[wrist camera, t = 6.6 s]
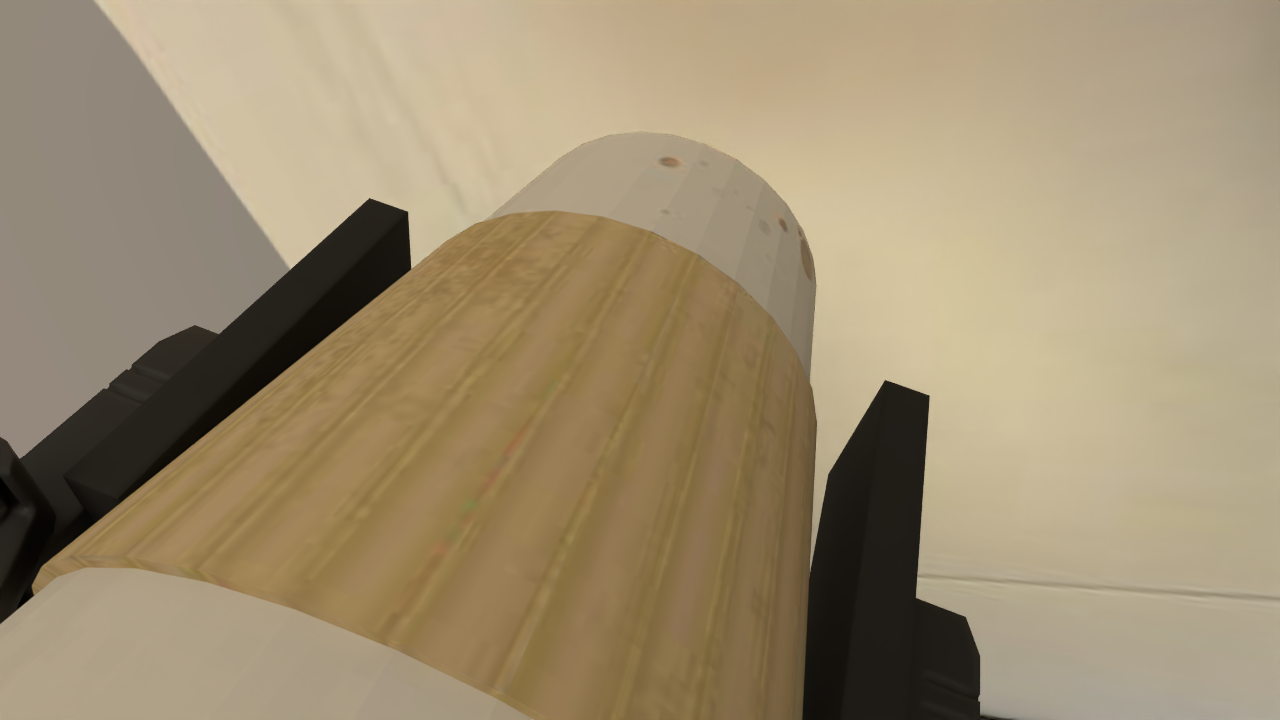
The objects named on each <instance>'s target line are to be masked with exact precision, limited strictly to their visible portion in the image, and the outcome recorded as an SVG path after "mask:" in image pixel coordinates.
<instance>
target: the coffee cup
mask: <svg viewBox="0 0 1280 720" xmlns="http://www.w3.org/2000/svg"><path fill="white" fill-rule="evenodd" d="M815 296H816V277H815V269H814V261H813V256H812V253H811V251H810V248H809V245H808V242H807V240H806V237H805V234H804V231H803V229H802V228H801V226H800V225H799V223H798V221H797V220H796V218H795V216H794V215H793V213H792V212H791V210H790V208H789V207H788V205H787V204H786V203H785V202H784V201H783V199H782V198H781V197H780V196H779V195H778V194H777V193H776V192H775V191H774V190H773V189H772V188H771V187H770V186H769V184H768V183H767V182H766V181H765V180H764V179H762V178H761V177H760V176H758V175H757V174H756V173H754V172H753V171H751V170H750V169H749V168H747V167H746V166H745V165H743V164H742V163H741V162H739V161H738V160H737V159H735V158H732V157H730V156H728V155H726V154H724V153H722V152H720V151H718V150H716V149H714V148H712V147H710V146H708V145H706V144H703V143H699V142H696V141H693V140H689V139H686V138H682V137H679V136H675V135H669V134H658V133H648V132H634V133H625V134H615V135H608V136H605V137H602V138H599V139H596V140H593V141H590V142H587V143H584V144H582V145H580V146H579V147H577V148H575V149H574V150H572V151H570V152H569V153H567V154H566V155H564V156H562V157H561V158H559V159H558V160H557V161H556V162H554V163H553V164H552V165H551V166H550V167H548V168H547V169H546V170H545V171H544V172H542V173H541V174H540V175H539V176H538V177H536V178H535V179H534V180H533V181H532V182H530V183H529V184H528V185H527V186H526V187H524V188H523V189H522V190H521V191H520V192H518V193H517V194H516V195H515V196H514V197H512V198H511V199H510V200H509V201H508V202H506V203H505V204H504V205H503V206H502V207H500V208H499V209H498V210H497V211H496V212H494V213H493V214H492V215H491V216H490V217H488V218H487V219H486V220H485V221H483V222H480V223H476V224H474V225H473V226H471V227H469V228H468V229H466V230H464V231H463V232H461V233H459V234H458V235H456V236H454V237H453V238H451V239H449V240H448V241H446V242H445V243H444V244H442V245H441V246H440V247H439V248H437V249H436V250H435V251H434V252H432V253H431V254H430V255H429V256H427V257H426V258H425V259H424V260H422V261H421V262H420V263H419V264H417V265H416V266H415V267H414V268H412V269H411V270H410V271H409V272H407V273H406V274H405V275H404V276H403V277H401V278H400V279H399V280H398V281H396V282H395V283H394V284H393V285H391V286H390V287H389V288H388V289H386V290H385V291H384V292H383V293H381V294H380V295H379V296H378V297H376V298H375V299H374V300H373V301H371V302H370V303H369V304H368V305H366V306H365V307H364V308H363V309H361V310H360V311H359V312H358V313H356V314H355V315H354V316H353V317H352V318H350V319H349V320H348V321H347V322H345V323H344V324H343V325H342V326H340V327H339V328H338V329H337V330H335V331H334V332H333V333H332V334H330V335H329V336H328V337H327V338H325V339H324V340H323V341H322V342H320V343H319V344H318V345H317V346H315V347H314V348H313V349H312V350H310V351H309V352H308V353H307V354H305V355H304V356H303V357H302V358H301V359H299V360H298V361H297V362H296V363H294V364H293V365H292V366H291V367H289V368H288V369H287V370H286V371H284V372H283V373H282V374H281V375H279V376H278V377H277V378H276V379H274V380H273V381H272V382H271V383H269V384H268V385H267V386H266V387H264V388H263V389H262V390H261V391H259V392H258V393H257V394H256V395H254V396H253V397H252V398H251V399H250V400H248V401H247V402H246V403H245V404H243V405H242V406H241V407H240V408H238V409H237V410H236V411H235V412H233V413H232V414H231V415H230V416H228V417H227V418H226V419H225V420H223V421H222V422H221V423H220V424H218V425H217V426H216V427H215V428H213V429H212V430H211V431H210V432H208V433H207V434H206V435H205V436H204V437H202V438H201V439H200V440H199V441H197V442H196V443H195V444H194V445H192V446H191V447H190V448H189V449H187V450H186V451H185V452H184V453H182V454H181V455H180V456H179V457H177V458H176V459H175V460H174V461H172V462H171V463H170V464H169V465H167V466H166V467H165V468H164V469H162V470H161V471H160V472H159V473H157V474H156V475H155V476H154V477H153V478H151V479H150V480H149V481H148V482H146V483H145V484H144V485H143V486H141V487H140V488H139V489H138V490H136V491H135V492H134V493H133V494H131V495H130V496H129V497H128V498H126V499H125V500H124V501H123V502H121V503H120V504H119V505H118V506H116V507H115V508H114V509H113V510H111V511H110V512H109V513H108V514H106V515H105V516H104V517H103V518H102V519H100V520H99V521H98V522H97V523H95V524H94V525H93V526H92V527H90V528H89V529H88V530H87V531H85V532H84V533H83V534H82V535H80V536H79V537H78V538H77V539H75V540H74V541H73V542H72V543H70V544H69V545H68V546H67V547H65V548H64V549H63V550H62V551H60V552H59V553H58V554H57V555H55V556H54V557H53V558H52V559H51V560H49V561H48V562H47V563H46V564H44V565H43V566H42V567H41V569H40V571H39V573H38V575H37V577H36V579H35V581H34V583H33V585H32V590H33V593H34V597H32V598H31V599H30V600H29V601H28V602H26V603H25V604H24V605H23V606H22V607H20V608H19V609H18V610H17V611H15V612H14V613H13V614H12V615H11V616H9V617H8V618H7V619H6V620H5V621H3V622H2V623H1V624H0V720H802V714H803V693H804V673H805V653H806V633H807V613H808V593H809V573H810V553H811V533H812V512H813V492H814V472H815V452H816V432H817V420H816V413H815V405H814V398H813V391H812V387H811V385H810V368H811V354H812V339H813V325H814V311H815Z"/></svg>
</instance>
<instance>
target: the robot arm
mask: <svg viewBox="0 0 1280 720" xmlns="http://www.w3.org/2000/svg"><path fill="white" fill-rule="evenodd" d="M410 270H411V256H410V239H409V221H408V212H407V211H404V210H401V209H398V208H396V207H393V206H390V205H387V204H384V203H381V202H379V201H376V200H373V199H370V198H369V199H368V200H367V201H366V202H365V203H364V204H363V205H362V206H360V207H359V208H358V209H357V210H356V211H355V212H354V213H353V214H352V215H351V216H349V217H348V218H347V219H346V220H345V221H344V222H343V223H342V224H341V225H339V226H338V227H337V228H336V229H335V230H334V231H333V232H332V233H331V234H330V235H328V236H327V237H326V238H325V239H324V240H323V241H322V242H321V243H320V244H318V245H317V246H316V247H315V248H314V249H313V250H312V251H311V252H310V253H308V254H307V255H306V256H305V257H304V258H303V259H302V260H301V261H300V262H299V263H297V264H296V265H295V266H294V267H293V268H292V269H291V270H290V271H289V272H288V273H286V274H285V275H284V276H283V277H282V278H281V279H280V280H279V281H278V282H276V284H275V285H273V286H272V287H271V288H270V289H269V290H268V291H266V293H264V294H263V295H262V296H261V297H260V298H259V299H258V300H257V301H255V302H254V303H253V304H252V305H251V306H250V307H249V308H248V309H247V310H245V311H244V312H243V313H242V314H241V315H240V316H239V317H238V318H237V319H235V321H233V322H232V323H231V324H230V325H229V326H228V327H227V328H226V329H224V330H223V331H222V332H221V333H220V334H217V333H214V332H211V331H209V330H206V329H204V328H201V327H198V326H196V325H194V326H192V327H190V328H188V329H186V330H183V331H181V332H179V333H177V334H175V335H172V336H170V337H168V338H166V339H164V340H161V341H159V342H158V343H157V344H156V345H154V346H153V347H152V348H151V349H150V350H149V351H147V352H146V353H145V354H144V355H143V356H141V357H140V358H139V359H138V360H137V361H136V362H134V363H133V364H132V367H131V369H130V370H125V371H124V372H123V373H121V374H120V375H119V376H118V377H117V378H116V379H114V380H113V381H112V382H111V383H110V385H109V388H108V389H102V390H101V391H100V392H99V393H98V394H97V395H96V396H94V397H93V398H92V399H91V400H90V401H88V402H87V403H86V404H85V405H84V406H82V407H81V408H80V409H79V410H78V411H77V412H76V413H74V414H73V415H72V416H71V417H69V418H68V419H67V420H66V421H65V422H64V423H62V424H61V425H60V426H59V427H58V428H56V429H55V430H54V431H53V432H52V433H51V434H49V435H48V436H47V437H46V438H45V439H43V440H42V441H41V442H40V443H39V444H38V445H36V446H35V447H34V448H33V449H32V450H31V451H29V452H28V453H27V454H26V455H25V456H23V457H22V458H20V459H19V458H18V456H17V455H16V453H15V452H14V451H13V449H12V448H11V446H10V445H9V443H8V442H7V441H6V440H4V439H2V438H1V437H0V624H1V623H2V622H3V621H5V620H6V619H7V618H8V617H9V616H11V615H12V614H13V613H14V612H15V611H17V610H18V609H19V608H20V607H22V606H23V605H24V604H25V603H26V602H28V601H29V600H30V599H31V598H32V597H34V593H33V590H32V585H33V583H34V581H35V579H36V577H37V575H38V573H39V571H40V569H41V567H42V566H43V565H44V564H46V563H47V562H48V561H49V560H51V559H52V558H53V557H54V556H55V555H57V554H58V553H59V552H60V551H62V550H63V549H64V548H65V547H67V546H68V545H69V544H70V543H72V542H73V541H74V540H75V539H77V538H78V537H79V536H80V535H82V534H83V533H84V532H85V531H87V530H88V529H89V528H90V527H92V526H93V525H94V524H95V523H97V522H98V521H99V520H100V519H102V518H103V517H104V516H105V515H106V514H108V513H109V512H110V511H111V510H113V509H114V508H115V507H116V506H118V505H119V504H120V503H121V502H123V501H124V500H125V499H126V498H128V497H129V496H130V495H131V494H133V493H134V492H135V491H136V490H138V489H139V488H140V487H141V486H143V485H144V484H145V483H146V482H148V481H149V480H150V479H151V478H153V477H154V476H155V475H156V474H157V473H159V472H160V471H161V470H162V469H164V468H165V467H166V466H167V465H169V464H170V463H171V462H172V461H174V460H175V459H176V458H177V457H179V456H180V455H181V454H182V453H184V452H185V451H186V450H187V449H189V448H190V447H191V446H192V445H194V444H195V443H196V442H197V441H199V440H200V439H201V438H202V437H204V436H205V435H206V434H207V433H208V432H210V431H211V430H212V429H213V428H215V427H216V426H217V425H218V424H220V423H221V422H222V421H223V420H225V419H226V418H227V417H228V416H230V415H231V414H232V413H233V412H235V411H236V410H237V409H238V408H240V407H241V406H242V405H243V404H245V403H246V402H247V401H248V400H250V399H251V398H252V397H253V396H254V395H256V394H257V393H258V392H259V391H261V390H262V389H263V388H264V387H266V386H267V385H268V384H269V383H271V382H272V381H273V380H274V379H276V378H277V377H278V376H279V375H281V374H282V373H283V372H284V371H286V370H287V369H288V368H289V367H291V366H292V365H293V364H294V363H296V362H297V361H298V360H299V359H301V358H302V357H303V356H304V355H305V354H307V353H308V352H309V351H310V350H312V349H313V348H314V347H315V346H317V345H318V344H319V343H320V342H322V341H323V340H324V339H325V338H327V337H328V336H329V335H330V334H332V333H333V332H334V331H335V330H337V329H338V328H339V327H340V326H342V325H343V324H344V323H345V322H347V321H348V320H349V319H350V318H352V317H353V316H354V315H355V314H356V313H358V312H359V311H360V310H361V309H363V308H364V307H365V306H366V305H368V304H369V303H370V302H371V301H373V300H374V299H375V298H376V297H378V296H379V295H380V294H381V293H383V292H384V291H385V290H386V289H388V288H389V287H390V286H391V285H393V284H394V283H395V282H396V281H398V280H399V279H400V278H401V277H403V276H404V275H405V274H406V273H407V272H409V271H410ZM929 398H930V396H929V395H926V394H923V393H920V392H918V391H915V390H912V389H909V388H906V387H903V386H901V385H898V384H895V383H892V382H889V381H886V380H885V381H884V383H883V385H882V386H881V388H880V390H879V391H878V393H877V395H876V396H875V398H874V400H873V401H872V403H871V405H870V406H869V408H868V410H867V411H866V413H865V414H864V416H863V418H862V419H861V421H860V423H859V424H858V426H857V428H856V429H855V431H854V433H853V434H852V436H851V438H850V439H849V441H848V443H847V444H846V446H845V448H844V449H843V451H842V453H841V454H840V456H839V458H838V459H837V461H836V463H835V464H834V466H833V468H832V469H831V471H830V473H829V474H828V479H827V485H826V490H825V496H824V501H823V507H822V512H821V517H820V523H819V528H818V534H817V539H816V544H815V550H814V555H813V561H812V566H811V572H810V577H809V593H808V613H807V633H806V653H805V673H804V693H803V714H802V720H980V702H979V701H978V697H979V695H980V655H979V652H978V649H977V646H976V644H975V641H974V638H973V635H972V633H971V630H970V627H969V624H968V622H967V619H966V617H964V616H962V615H959V614H956V613H954V612H951V611H949V610H946V609H943V608H941V607H938V606H935V605H933V604H930V603H928V602H925V601H922V600H920V599H917V598H916V586H917V572H918V557H919V543H920V528H921V514H922V499H923V485H924V470H925V456H926V441H927V427H928V412H929Z"/></svg>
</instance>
